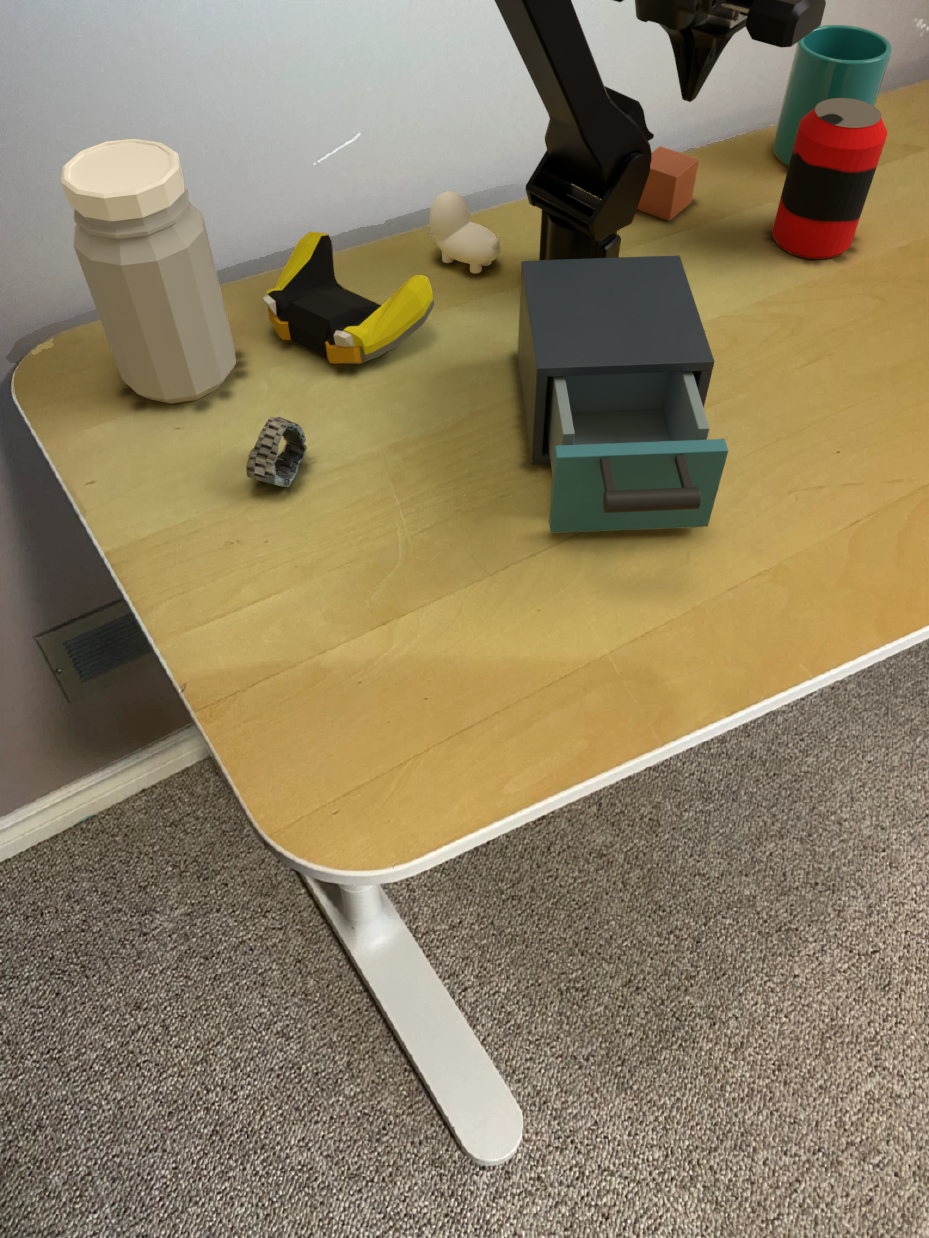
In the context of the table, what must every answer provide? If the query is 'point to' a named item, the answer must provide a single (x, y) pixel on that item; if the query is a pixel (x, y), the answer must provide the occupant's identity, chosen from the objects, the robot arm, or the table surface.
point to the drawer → (630, 452)
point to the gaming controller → (341, 308)
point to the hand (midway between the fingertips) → (689, 99)
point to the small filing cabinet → (604, 327)
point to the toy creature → (461, 233)
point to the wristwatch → (266, 450)
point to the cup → (830, 76)
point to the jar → (149, 269)
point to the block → (668, 183)
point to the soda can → (829, 177)
